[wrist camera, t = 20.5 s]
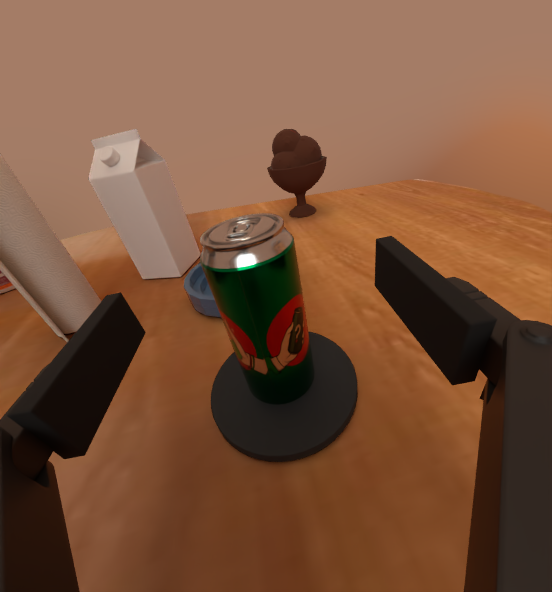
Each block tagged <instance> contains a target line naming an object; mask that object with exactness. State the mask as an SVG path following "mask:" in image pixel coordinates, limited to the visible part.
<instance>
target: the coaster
mask: <svg viewBox="0 0 552 592" xmlns="http://www.w3.org/2000/svg"><path fill="white" fill-rule="evenodd" d="M308 333H309V339H310V346H311V352H312V358H313V365H314V371H315V374H314V380H313V383H312V385H311V387H310V388H309V390H308V391H307V392H306V393H305V394H304V395H303V396H301V397H300V398H298V399H297V400H295V401H292V402H290V403H286V404H280V405H274V404H267V403H264V402H262V401H260V400H258V399H257V398H256V397H254V396H253V394H252V393H251V391H250V390H249V387H248V385H247V382H246V380H245V377H244V374H243V372H242V369H241V367H240V364H239V362H238V359H237V356H236V354H235V352H234V353H233V354H232V355H231V356H230V357H229V358H228V359H227V360H226V361H225V363H224V364H223V365H222V367H221V368H220V370H219V372H218V374H217V376H216V378H215V381H214V384H213V388H212V392H211V409H212V413H213V417H214V420H215V422H216V424H217V426H218V428H219V430H220V431H221V433H222V434H223V436H224V437H225V439H226V440H227V441H228V442H229V443H230V444H231V445H232V446H233V447H235V448H236V449H237V450H238V451H240V452H242V453H244V454H246V455H247V456H250V457H253V458H256V459H259V460H264V461H270V462H285V461H293V460H297V459H301V458H305V457H307V456H310V455H312V454H315V453H316V452H318V451H320V450H322V449H323V448H325V447H326V446H328V445H329V444H330V443H332V442H333V441H334V440H335V439H336V438H337V437H338V436H339V435H340V434H341V433H342V432H343V430H344V429H345V427H346V426H347V425H348V423H349V421H350V419H351V417H352V415H353V412H354V409H355V406H356V401H357V378H356V373H355V370H354V367H353V364H352V363H351V361H350V359H349V357H348V356H347V355H346V353H345V352H344V351H343V350H342V349H341V348H340V347H339V346H338V345H337V344H335V343H334V342H333V341H331V340H329V339H328V338H326V337H324V336H322V335H319V334H316V333H313V332H308Z"/></svg>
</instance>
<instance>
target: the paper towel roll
mask: <svg viewBox="0 0 552 592" xmlns="http://www.w3.org/2000/svg"><path fill="white" fill-rule="evenodd" d="M0 270H1V272H2V273H3V274H4V275H5V276H6V277H7V278H8V280H9V281H10V282H11V283H12V284H13V285H14V286H15V288H16V289H17V290H18V291H19V292H20V293H21V294H22V296H23V297H24V298H25V299H26V300H27V301H28V302H29V304H30V305H31V306H32V307H33V308H34V309H35V310H36V311H37V313H38V314H39V315H40V316H41V317H42V318H43V319H44V321H45V322H46V323H47V324H48V325H49V326H50V327H51V329H52V330H53V331H54V332H55V333H56V334H57V335H58V336H59V337H62V338H64V339H65V340H66V342H68V341H69V340H68V339H67V338H66V337H65V335H64V334H69V333H72V332H76V331H77V330H78V329H79V328H80V327H81V326H82V324H83V323H84V322H85V321H86V320H87V318H88V317H89V316H90V315H91V314H92V312H93V311H94V310H95V309H96V307H97V306H98V305H99V304H100V303H101V300H100V298H99V297H98V295H97V294H96V293H95V291H94V290H93V288H92V287H91V285H90V284H89V282H88V281H87V279H86V278H85V276H84V275H83V274H82V272H81V271H80V269H79V268H78V266H77V265H76V263H75V262H74V260H73V259H72V257H71V256H70V255H69V253H68V252H67V250H66V249H65V247H64V246H63V244H62V243H61V241H60V240H59V238H58V237H57V236H56V234H55V233H54V231H53V230H52V228H51V227H50V225H49V224H48V222H47V221H46V219H45V218H44V217H43V215H42V214H41V212H40V211H39V209H38V208H37V206H36V205H35V203H34V202H33V201H32V199H31V198H30V196H29V195H28V193H27V192H26V190H25V189H24V188H23V186H22V184H21V183H20V182H19V180H18V179H17V177H16V176H15V174H14V173H13V171H12V170H11V169H10V167H9V165H8V164H7V163H6V161H5V160H4V158H3V157H2V155H1V154H0Z"/></svg>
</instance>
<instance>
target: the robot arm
mask: <svg viewBox="0 0 552 592" xmlns="http://www.w3.org/2000/svg"><path fill="white" fill-rule="evenodd" d="M375 287H376V288H377V289H378V290H379V292H380V293H381V294H382V296H383V297H384V298H385V299H386V301H387V302H388V303H389V305H390V306H391V307H392V308H393V310H394V311H395V312H396V314H397V315H398V316H399V317H400V319H401V320H402V321H403V323H404V324H405V325H406V326H407V328H408V329H409V330H410V332H411V333H412V334H413V335H414V337H415V338H416V339H417V341H418V342H419V343H420V344H421V346H422V347H423V348H424V350H425V351H426V352H427V353H428V355H429V356H430V357H431V359H432V360H433V361H434V362H435V364H436V365H437V366H438V368H439V369H440V370H441V371H442V373H443V374H444V375H445V377H446V378H447V379H448V380H449V382H450V383H451V384H452V385H456V384H462V383H467V382H472V381H475V379H476V376H477V373H478V371H479V369H480V370H481V371H482V372H483V374H484V375H485V376H486V377H487V378H488V379H487V382H486V384H485V387H484V389H483V391H482V394H481V396H480V399H482V400H484V402H483V411H482V421H481V431H480V441H479V450H478V460H477V470H476V479H475V489H474V499H473V508H472V518H471V528H470V537H469V547H468V557H467V566H466V576H465V586H464V592H552V326H551V325H549V324H545V323H542V322H538V321H530V320H522V321H521V320H520V319H518V318H517V317H516V316H514V315H513V314H512V313H510V312H509V311H507V310H506V309H505V308H503V307H502V306H500V305H499V304H498V303H496V302H495V301H494V300H492V299H491V298H488V297H487V295H485V294H484V293H483V292H481V291H480V292H479V290H478V289H477V288H476V287H474V286H473V285H471V284H470V283H469V282H466V281H464V280H461V279H459V278H456V277H451V278H444V277H443V276H442V275H441V274H439V273H438V272H437V271H436V270H434V269H433V268H432V267H430V266H429V265H428V264H427V263H425V262H424V261H423V260H422V259H420V258H419V257H418V256H416V255H415V254H414V253H413V252H411V251H410V250H409V249H408V248H406V247H405V246H404V245H402V244H401V243H400V242H399V241H397V240H396V239H395V238H394V237H392V236H388V237H384V238H379V239H376V262H375ZM145 333H146V332H145V331H144V329H143V328H142V326H141V324H140V323H139V321H138V319H137V318H136V316H135V315H134V313H133V311H132V310H131V308H130V307H129V305H128V303H127V302H126V300H125V298H124V297H123V295H122V294H121V293H116V294H111V295H107V296H106V297H105V298H104V299H103V300H102V301H101V303H100V304H99V305H98V306H97V307H96V309H95V310H94V311H93V312H92V314H91V315H90V316H89V317H88V318H87V320H86V321H85V322H84V323H83V324H82V326H81V327H80V328H79V329H78V330H77V332H76V333H75V334H74V335H73V336H72V338H71V339H70V340H69V341H68V342H67V344H66V345H65V346H64V347H63V349H62V350H61V351H60V352H59V353H58V355H57V356H56V357H55V358H54V359H53V361H52V362H51V363H50V364H48V365H47V366H46V367H45V368H44V369H42V371H41V372H40V373H39V374H38V375H37V377H36V378H35V379H34V382H32V383H31V384H30V385H29V386H28V387H27V388H26V391H24V392H23V393H22V394H21V396H20V397H19V398H18V399H17V400H16V402H15V403H14V404H13V405H12V406H11V408H10V409H9V410H8V411H7V412H6V414H5V415H4V416H3V417H2V418H1V419H0V592H79V587H78V582H77V577H76V572H75V567H74V563H73V558H72V553H71V548H70V543H69V538H68V533H67V528H66V523H65V519H64V514H63V509H62V504H61V499H60V494H59V489H58V484H57V479H56V475H55V470H54V466H53V465H52V463H51V462H49V461H48V459H49V457H50V456H51V454H52V452H53V451H54V452H55V453H57V454H58V455H59V456H61V457H62V458H63V459H68V458H73V457H78V456H84V455H85V454H86V452H87V450H88V448H89V446H90V444H91V442H92V440H93V438H94V436H95V434H96V432H97V430H98V428H99V426H100V424H101V421H102V419H103V417H104V415H105V413H106V411H107V409H108V407H109V405H110V403H111V401H112V399H113V397H114V395H115V393H116V391H117V389H118V387H119V385H120V383H121V381H122V379H123V377H124V375H125V373H126V371H127V369H128V367H129V365H130V363H131V361H132V359H133V357H134V355H135V353H136V351H137V349H138V347H139V345H140V343H141V341H142V339H143V337H144V335H145Z"/></svg>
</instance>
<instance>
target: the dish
mask: <svg viewBox="0 0 552 592" xmlns="http://www.w3.org/2000/svg"><path fill="white" fill-rule="evenodd" d="M184 289H185V291H186V293H187V295H188V298H189V300H190V302H191V304H192V305H193V307H194V308H195V310H196V311H198V312H200V313H202V314H204V315H207V316H214V317H221V315H220V313H219V310H218V307H217V305H216V302H215V300H214V297H213V295H212V292H211V289H210V287H209V284H208V282H207V279H206V276H205V274H204V271H203V269H202V266H201V263H199V264H197V265H196V266H195V267H194V268H193V269H191V270H190V272H189V273H188V275H187V276H186V278H185V280H184Z"/></svg>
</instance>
